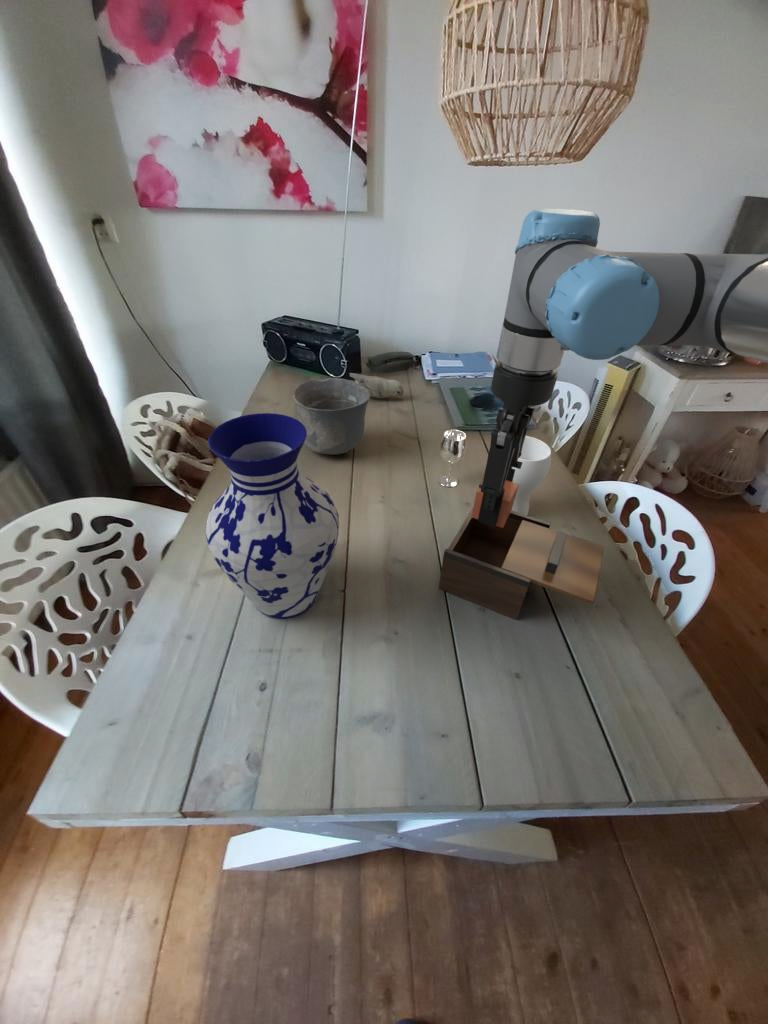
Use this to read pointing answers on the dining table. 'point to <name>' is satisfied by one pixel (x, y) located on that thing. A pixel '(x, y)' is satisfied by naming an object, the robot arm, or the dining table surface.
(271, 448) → the vase
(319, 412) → the bowl
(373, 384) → the decorative bird
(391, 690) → the dining table surface
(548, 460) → the cup
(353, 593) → the dining table surface
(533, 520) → the box
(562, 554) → the sliding lid
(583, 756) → the dining table surface
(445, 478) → the wineglass
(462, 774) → the dining table surface
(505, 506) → the block
